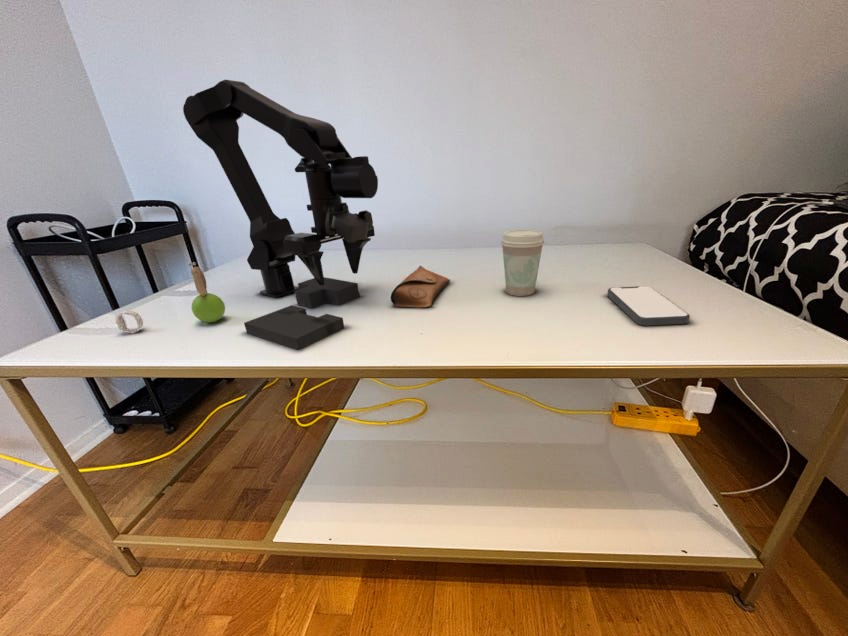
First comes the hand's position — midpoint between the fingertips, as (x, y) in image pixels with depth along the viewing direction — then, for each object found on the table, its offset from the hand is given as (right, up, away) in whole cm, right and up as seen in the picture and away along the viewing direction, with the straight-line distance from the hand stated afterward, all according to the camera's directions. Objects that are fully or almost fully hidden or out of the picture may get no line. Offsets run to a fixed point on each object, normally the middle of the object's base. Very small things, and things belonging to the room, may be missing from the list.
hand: (339, 278), depth 85 cm
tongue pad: (-4, -4, +3) cm, 6 cm away
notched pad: (-4, -11, -11) cm, 16 cm away
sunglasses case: (+17, -3, +4) cm, 18 cm away
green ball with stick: (-22, -10, -7) cm, 25 cm away
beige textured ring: (-35, -12, -9) cm, 38 cm away
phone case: (+58, -8, -10) cm, 60 cm away
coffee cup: (+38, -3, +2) cm, 38 cm away
